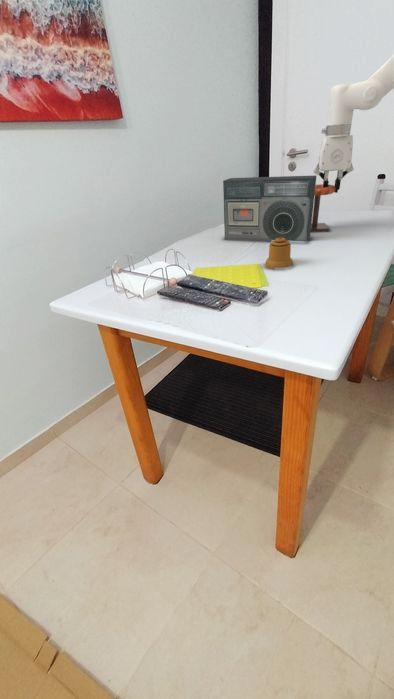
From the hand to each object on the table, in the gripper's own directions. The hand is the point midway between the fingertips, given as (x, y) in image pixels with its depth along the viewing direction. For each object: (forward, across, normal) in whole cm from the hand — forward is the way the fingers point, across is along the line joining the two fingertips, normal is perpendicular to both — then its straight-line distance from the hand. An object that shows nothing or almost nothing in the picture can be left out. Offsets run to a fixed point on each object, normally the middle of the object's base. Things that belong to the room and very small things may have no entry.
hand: (330, 192), depth 120 cm
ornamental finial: (+13, -19, -41) cm, 47 cm away
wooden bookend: (+13, -4, 0) cm, 14 cm away
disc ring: (-1, -4, 0) cm, 4 cm away
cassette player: (+13, -22, -12) cm, 29 cm away
